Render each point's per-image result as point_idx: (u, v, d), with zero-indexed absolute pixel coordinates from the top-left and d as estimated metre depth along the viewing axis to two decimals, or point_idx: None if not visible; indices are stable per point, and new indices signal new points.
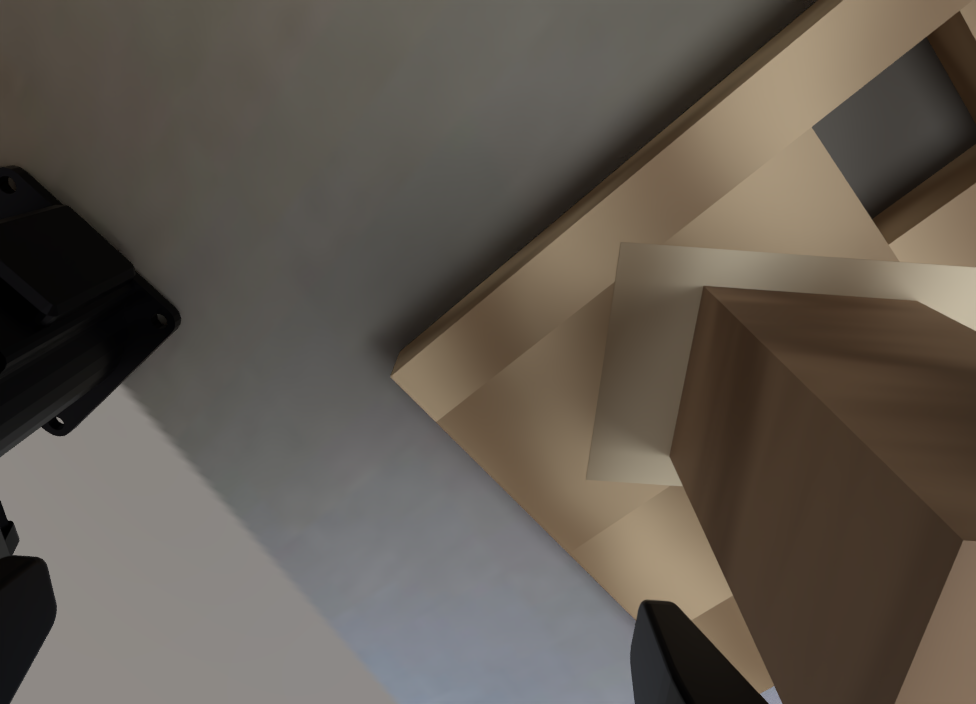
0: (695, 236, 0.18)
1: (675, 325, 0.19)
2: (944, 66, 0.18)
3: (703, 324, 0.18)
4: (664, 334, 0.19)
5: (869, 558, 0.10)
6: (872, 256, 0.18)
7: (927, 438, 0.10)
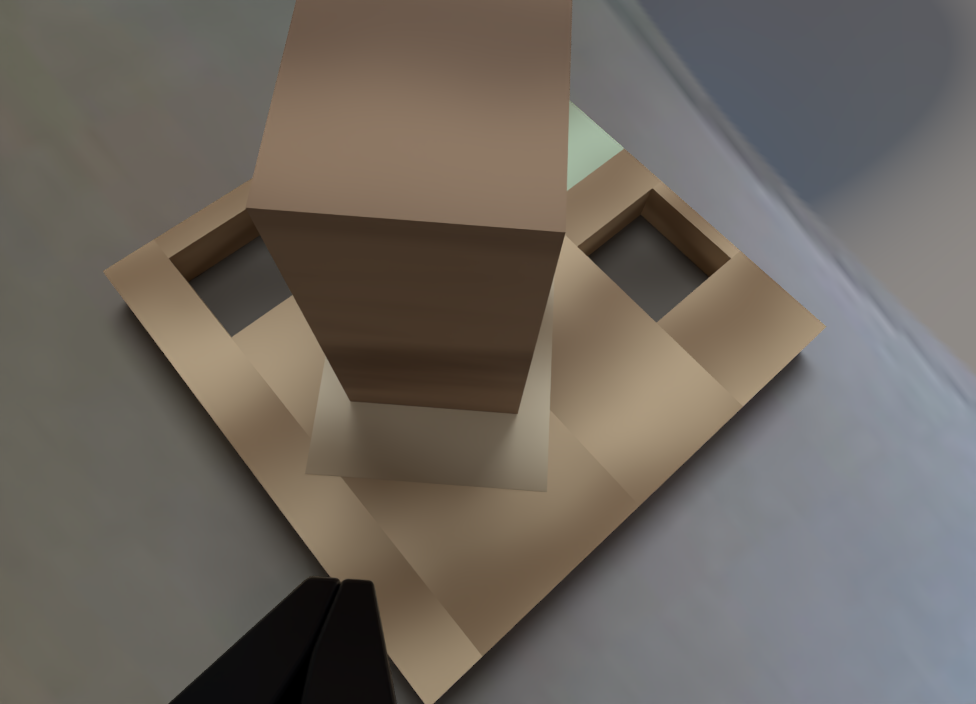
0: (306, 412, 0.21)
1: (385, 421, 0.21)
2: (223, 258, 0.25)
3: (376, 398, 0.21)
4: (393, 429, 0.21)
5: (344, 255, 0.12)
6: None
7: None
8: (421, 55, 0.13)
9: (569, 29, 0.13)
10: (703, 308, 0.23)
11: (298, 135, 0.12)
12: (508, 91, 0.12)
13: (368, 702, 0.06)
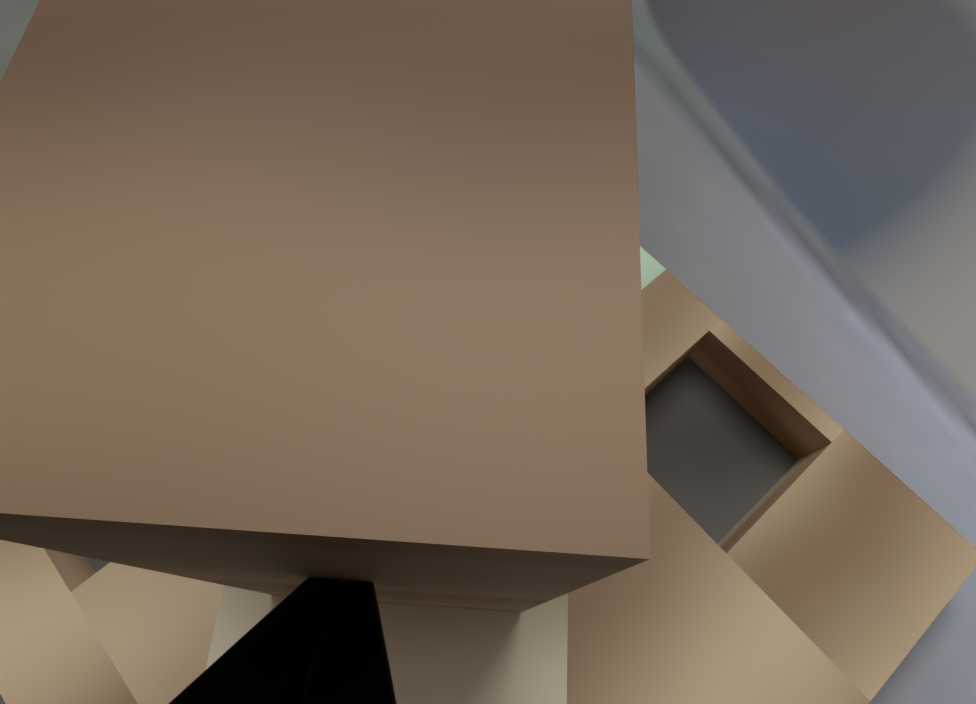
0: None
1: None
2: None
3: None
4: None
5: (128, 542, 0.06)
6: None
7: None
8: (307, 93, 0.06)
9: (629, 34, 0.06)
10: (795, 528, 0.15)
11: None
12: (500, 172, 0.05)
13: (368, 702, 0.06)
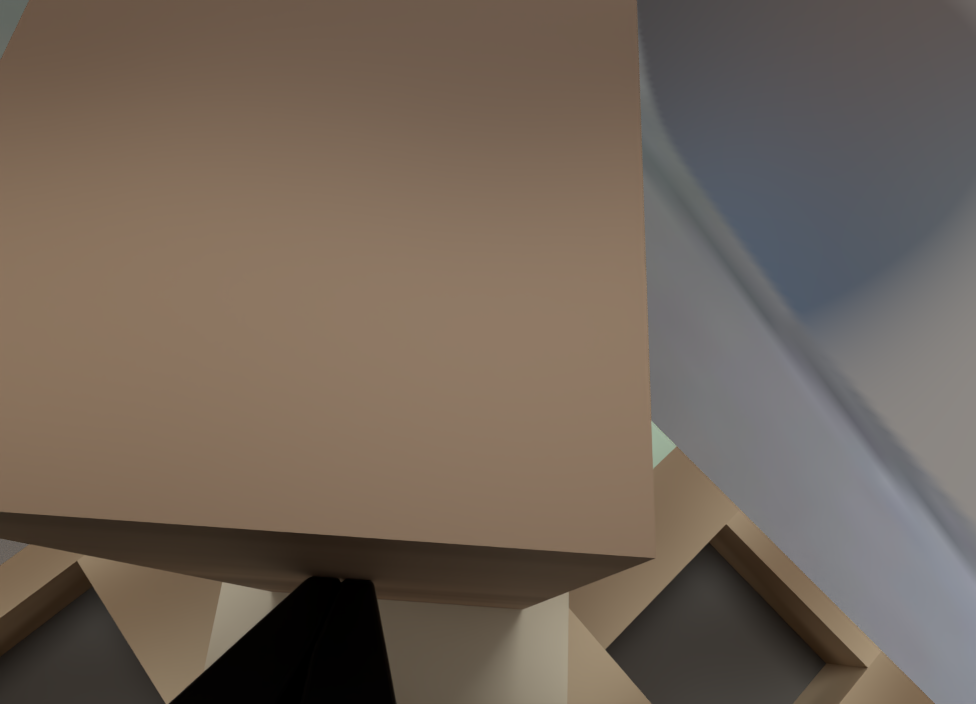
0: None
1: None
2: (21, 639, 0.15)
3: None
4: None
5: (125, 540, 0.05)
6: None
7: None
8: (305, 84, 0.06)
9: (633, 24, 0.06)
10: None
11: None
12: (501, 164, 0.05)
13: (368, 702, 0.06)
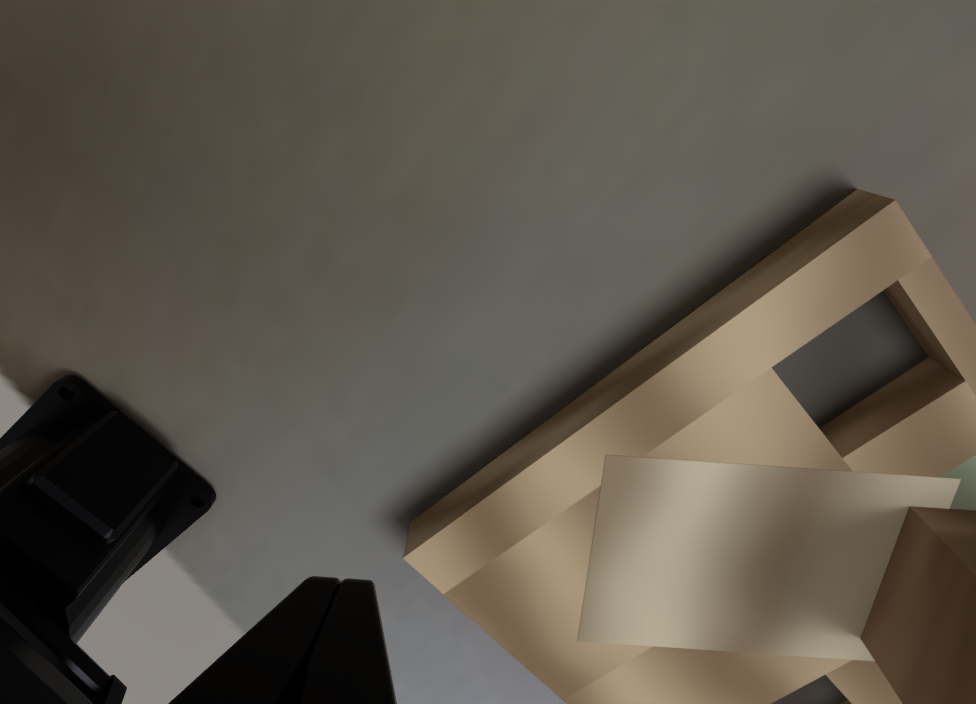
0: (671, 450, 0.20)
1: (655, 519, 0.21)
2: (891, 301, 0.20)
3: (910, 541, 0.20)
4: (645, 527, 0.21)
5: None
6: (828, 467, 0.20)
7: None
8: None
9: None
10: None
11: None
12: None
13: (368, 702, 0.06)
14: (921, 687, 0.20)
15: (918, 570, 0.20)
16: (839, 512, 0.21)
